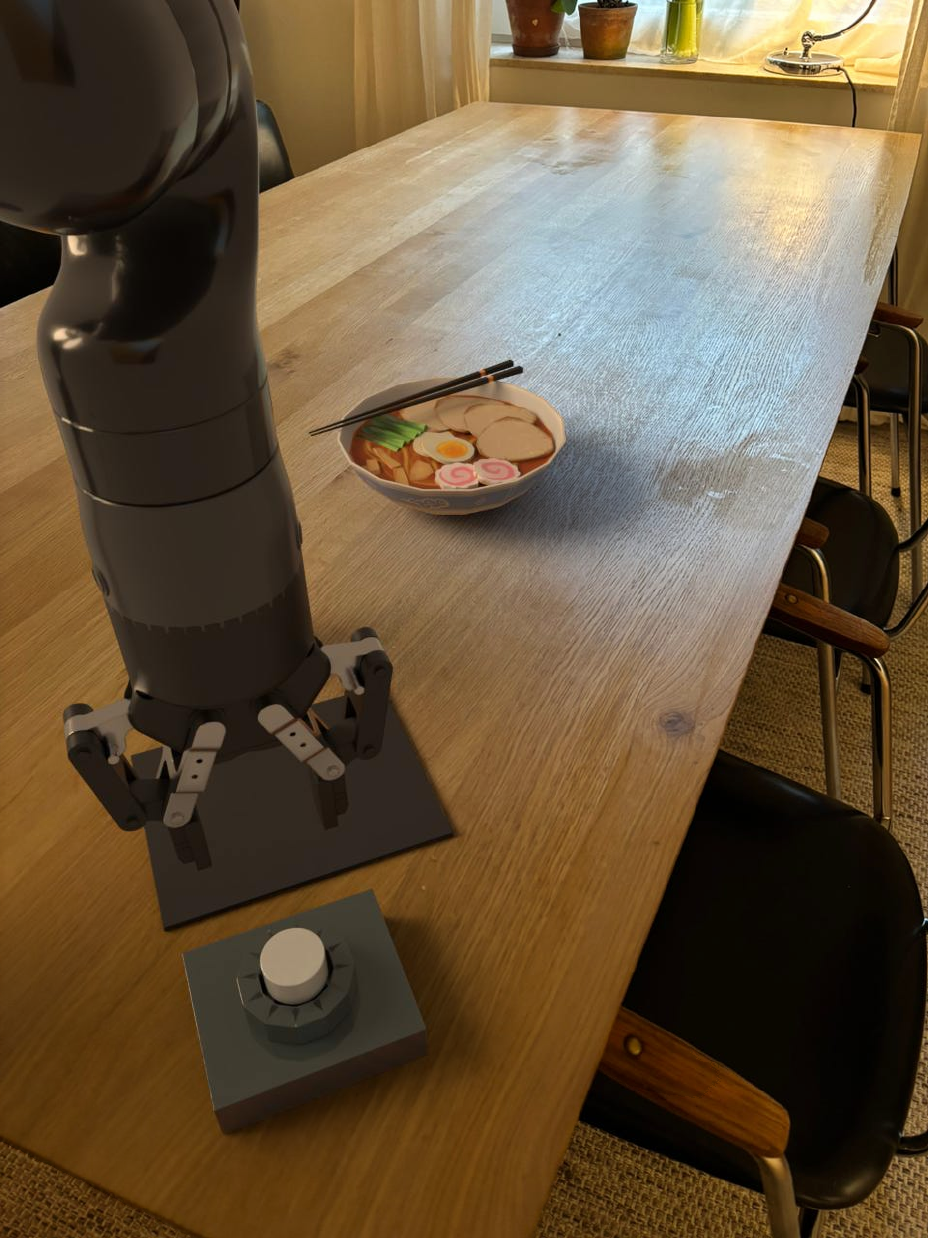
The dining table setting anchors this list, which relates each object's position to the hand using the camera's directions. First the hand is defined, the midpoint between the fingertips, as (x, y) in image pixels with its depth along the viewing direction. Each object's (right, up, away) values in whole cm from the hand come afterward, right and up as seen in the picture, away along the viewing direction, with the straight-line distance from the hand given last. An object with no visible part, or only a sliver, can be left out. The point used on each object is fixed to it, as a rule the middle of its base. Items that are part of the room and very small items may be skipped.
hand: (264, 834), depth 48 cm
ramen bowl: (+9, +24, +55) cm, 60 cm away
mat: (-3, -2, +24) cm, 25 cm away
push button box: (0, -13, +11) cm, 17 cm away
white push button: (0, -10, +8) cm, 13 cm away
